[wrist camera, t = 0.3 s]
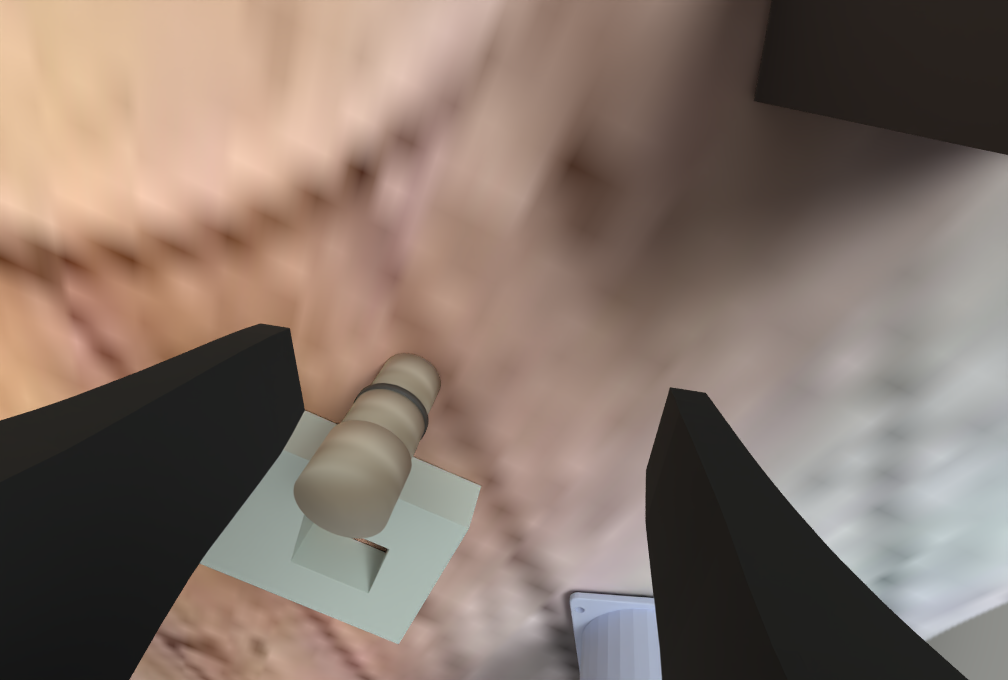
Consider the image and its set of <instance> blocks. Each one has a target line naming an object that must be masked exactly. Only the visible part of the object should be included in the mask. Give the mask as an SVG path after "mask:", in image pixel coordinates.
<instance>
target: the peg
mask: <svg viewBox="0 0 1008 680" xmlns="http://www.w3.org/2000/svg"><path fill="white" fill-rule="evenodd" d="M440 386H441V380H440V376H439V374H438V372H437V370H436V369H435V367H434V366H433V365H432V364H431V363H430V362H429V361H427V360H426V359H424V358H422V357H420V356H418V355H415V354H409V353H401V354H397V355H394V356H392V357H391V358H389V359H388V360H387V361H386V363H385V364H384V366H383V368H382V369H381V371H380V372H379V374H378V375H377V377H376V378H375V380H374V381H373V383H372V384H371V385H369V386H367V387H365V388H364V389H363V390H362V391H361V392H360V393H359V394H358V396H357V397H356V399H355V401H354V403H353V406H352V407H351V409H350V410H349V412H348V413H347V415H346V416H345V418H344V419H343V421H342V422H341V423H340V424H338V425H336V426H335V427H333V428H332V430H331V431H330V432H329V434H328V435H327V436H326V438H325V439H324V441H323V442H322V444H321V445H320V447H319V448H318V450H317V451H316V453H315V454H314V455H313V457H312V458H311V460H310V461H309V463H308V464H307V466H306V467H305V469H304V470H303V472H302V473H301V474H300V476H299V477H298V479H297V480H296V482H295V485H294V490H293V492H294V498H295V501H296V503H297V505H298V507H299V508H300V510H301V511H302V512H303V513H304V514H305V516H306V517H307V518H309V519H310V520H311V521H312V522H313V523H315V524H316V525H318V526H319V527H321V528H323V529H325V530H326V531H329V532H331V533H333V534H336V535H339V536H343V537H348V538H368V537H372V536H375V535H377V534H379V533H380V532H381V531H382V530H383V529H384V528H385V526H386V525H387V522H388V520H389V518H390V516H391V514H392V511H393V509H394V507H395V505H396V502H397V500H398V498H399V496H400V494H401V491H402V489H403V487H404V485H405V482H406V480H407V478H408V476H409V474H410V471H411V467H412V461H411V459H412V457H413V455H414V453H415V451H416V448H417V446H418V444H419V442H420V440H421V439H422V437H423V436H424V434H425V432H426V430H427V427H428V413H429V411H430V409H431V407H432V405H433V403H434V401H435V399H436V396H437V394H438V392H439V390H440Z"/></svg>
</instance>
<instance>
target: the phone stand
mask: <svg viewBox="0 0 1008 680" xmlns="http://www.w3.org/2000/svg"><path fill="white" fill-rule="evenodd" d="M754 101H757V102H762V103H767V104H771V105H776V106H781V107H786V108H790V109H795V110H800V111H804V112H809V113H814V114H818V115H823V116H828V117H832V118H837V119H842V120H847V121H851V122H856V123H861V124H865V125H870V126H875V127H879V128H884V129H889V130H893V131H898V132H903V133H908V134H912V135H917V136H922V137H926V138H931V139H936V140H940V141H945V142H950V143H954V144H959V145H964V146H969V147H973V148H978V149H983V150H987V151H992V152H997V153H1001V154H1006V155H1008V0H772V3H771V8H770V14H769V20H768V25H767V31H766V36H765V42H764V48H763V53H762V59H761V64H760V70H759V76H758V81H757V87H756V92H755V98H754Z"/></svg>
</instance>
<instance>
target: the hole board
mask: <svg viewBox="0 0 1008 680" xmlns="http://www.w3.org/2000/svg"><path fill="white" fill-rule="evenodd" d="M336 425H338V424H336V423H333V422H331V421H329V420H326V419H324V418H322V417H319V416H317V415H315V414H312V413H310V412H308V411H304V413H303V415H302V417H301V419H300V421H299V422H298V424H297V426H296V428H295V430H294V432H293V434H292V436H291V437H290V439H289V441H288V442H287V444H286V446H285V448H284V449H283V451H282V453H281V454H280V456H279V457H278V459H277V460H276V461H275V463H274V464H273V465H272V467H271V468H270V470H269V471H268V472H267V474H266V475H265V476H264V478H263V479H262V480H261V482H260V483H259V484H258V486H257V487H256V488H255V490H254V491H253V492H252V494H251V495H250V496H249V498H248V499H247V500H246V502H245V503H244V504H243V506H242V507H241V508H240V509H239V511H238V512H237V513H236V515H235V516H234V517H233V519H232V520H231V521H230V523H229V524H228V525H227V527H226V528H225V529H224V531H223V532H222V533H221V535H220V536H219V537H218V539H217V540H216V541H215V543H214V544H213V545H212V546H211V548H210V549H209V550H208V552H207V553H206V555H205V556H204V558H203V559H202V560H201V562H200V564H202V565H205V566H207V567H210V568H212V569H215V570H217V571H220V572H222V573H224V574H227V575H229V576H232V577H234V578H237V579H239V580H242V581H244V582H247V583H249V584H252V585H254V586H256V587H259V588H261V589H264V590H266V591H269V592H271V593H274V594H276V595H279V596H281V597H284V598H286V599H288V600H291V601H293V602H296V603H298V604H301V605H303V606H306V607H308V608H311V609H313V610H316V611H318V612H320V613H323V614H325V615H328V616H330V617H333V618H335V619H338V620H340V621H343V622H345V623H348V624H350V625H352V626H355V627H357V628H360V629H362V630H365V631H367V632H370V633H372V634H375V635H377V636H380V637H382V638H384V639H387V640H389V641H392V642H394V643H397V644H399V643H400V641H401V639H402V638H403V636H404V634H405V633H406V631H407V630H408V628H409V626H410V625H411V623H412V621H413V620H414V618H415V616H416V615H417V613H418V611H419V610H420V608H421V607H422V605H423V603H424V602H425V600H426V598H427V597H428V595H429V593H430V592H431V590H432V588H433V587H434V585H435V583H436V582H437V580H438V579H439V577H440V575H441V574H442V572H443V570H444V569H445V567H446V565H447V564H448V562H449V560H450V559H451V557H452V555H453V554H454V552H455V551H456V549H457V547H458V546H459V544H460V542H461V541H462V539H463V537H464V536H465V534H466V532H467V531H468V529H469V526H470V523H471V520H472V516H473V513H474V509H475V506H476V502H477V499H478V495H479V492H480V488H481V486H480V485H478V484H475V483H473V482H471V481H468V480H466V479H464V478H461V477H459V476H457V475H454V474H452V473H450V472H447V471H445V470H443V469H440V468H438V467H436V466H433V465H431V464H429V463H426V462H424V461H422V460H419V459H417V458H415V457H412V459H411V461H412V467H411V471H410V474H409V476H408V478H407V480H406V482H405V485H404V487H403V489H402V491H401V494H400V496H399V498H398V500H397V502H396V505H395V507H394V509H393V511H392V514H391V516H390V518H389V520H388V522H387V525H386V526H385V528H384V529H383V530H382V531H381V532H380V533H379V534H377V535H375V536H372V537H368V538H364V539H366V540H368V541H371V542H373V543H376V544H378V545H380V546H383V547H385V548H387V551H386V553H385V552H383V551H381V550H378V549H376V548H373V547H371V546H369V545H366V544H364V543H361V542H359V541H357V540H354V539H352V538H348V537H343V536H339V535H336V534H333V533H331V532H329V531H326V530H325V529H323V528H321V527H319V526H318V525H316V524H315V523H313V522H312V521H311V520H310V519H309V518H307V517H306V516H305V514H304V513H303V512H302V511H301V510H300V508H299V507H298V505H297V503H296V501H295V498H294V492H293V490H294V485H295V482H296V480H297V479H298V477H299V476H300V474H301V473H302V472H303V470H304V469H305V467H306V466H307V464H308V463H309V461H310V460H311V458H312V457H313V455H314V454H315V453H316V451H317V450H318V448H319V447H320V445H321V444H322V442H323V441H324V439H325V438H326V436H327V435H328V434H329V432H330V431H331V430H332V428H333V427H335V426H336Z"/></svg>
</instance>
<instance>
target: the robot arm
mask: <svg viewBox="0 0 1008 680" xmlns="http://www.w3.org/2000/svg"><path fill="white" fill-rule="evenodd" d="M304 411H305V408H304V403H303V398H302V392H301V387H300V381H299V376H298V370H297V365H296V360H295V354H294V349H293V343H292V338H291V333H290V328H285V327H279V326H273V325H266V324H258V325H255V326H251V327H248V328H245V329H243V330H240V331H237V332H235V333H232V334H229V335H227V336H224V337H222V338H219V339H217V340H214V341H212V342H209V343H207V344H205V345H202V346H200V347H197V348H195V349H193V350H190V351H188V352H185V353H183V354H181V355H178V356H176V357H173V358H171V359H168V360H166V361H164V362H161V363H159V364H156V365H154V366H152V367H149V368H147V369H144V370H142V371H139V372H137V373H134V374H131V375H129V376H126V377H124V378H121V379H118V380H116V381H113V382H111V383H108V384H105V385H103V386H100V387H97V388H95V389H92V390H90V391H87V392H84V393H82V394H79V395H77V396H74V397H71V398H68V399H65V400H62V401H60V402H57V403H54V404H51V405H48V406H45V407H42V408H39V409H36V410H33V411H30V412H27V413H23V414H20V415H17V416H14V417H11V418H7V419H4V420H1V421H0V680H129V679H130V678H131V676H132V674H133V672H134V671H135V669H136V667H137V665H138V664H139V662H140V660H141V658H142V657H143V655H144V653H145V651H146V650H147V648H148V646H149V645H150V643H151V641H152V639H153V638H154V636H155V634H156V632H157V631H158V629H159V627H160V625H161V624H162V622H163V621H164V619H165V617H166V616H167V614H168V612H169V611H170V609H171V607H172V606H173V604H174V603H175V601H176V599H177V598H178V596H179V594H180V593H181V591H182V590H183V588H184V586H185V585H186V583H187V581H188V580H189V578H190V577H191V575H192V573H193V572H194V571H195V569H196V568H197V566H198V565H199V563H200V562H201V560H202V559H203V558H204V556H205V555H206V553H207V552H208V550H209V549H210V548H211V546H212V545H213V544H214V543H215V541H216V540H217V539H218V537H219V536H220V535H221V533H222V532H223V531H224V529H225V528H226V527H227V525H228V524H229V523H230V521H231V520H232V519H233V517H234V516H235V515H236V513H237V512H238V511H239V509H240V508H241V507H242V506H243V504H244V503H245V502H246V500H247V499H248V498H249V496H250V495H251V494H252V492H253V491H254V490H255V488H256V487H257V486H258V484H259V483H260V482H261V480H262V479H263V478H264V476H265V475H266V474H267V472H268V471H269V470H270V468H271V467H272V465H273V464H274V463H275V461H276V460H277V459H278V457H279V456H280V454H281V453H282V451H283V449H284V448H285V446H286V444H287V442H288V441H289V439H290V437H291V436H292V434H293V432H294V430H295V428H296V426H297V424H298V422H299V421H300V419H301V417H302V415H303V413H304ZM646 531H647V541H648V550H649V559H650V568H651V577H652V586H653V594H654V598H646V597H633V596H620V595H607V594H594V593H581V592H575V593H573V594H571V595H570V609H571V616H572V623H573V629H574V636H575V643H576V650H577V657H578V664H579V671H580V680H968V679H967V678H965V676H963V675H962V674H961V673H960V672H959V671H958V670H957V669H956V668H954V667H953V666H952V665H951V664H950V663H949V662H948V661H946V660H945V659H944V658H943V657H942V656H941V655H940V654H939V653H938V652H937V651H935V650H934V649H933V648H932V647H931V646H930V645H929V644H928V643H926V642H925V641H924V640H923V639H922V638H921V637H920V636H919V635H917V634H916V633H915V632H914V631H913V630H912V629H911V628H910V627H909V626H908V625H907V624H906V623H904V622H903V621H902V620H901V619H900V618H899V617H898V616H897V615H896V614H895V613H894V612H893V611H892V610H891V609H889V608H888V607H887V606H886V605H885V604H884V603H883V602H882V601H881V600H880V599H879V598H878V597H877V596H876V595H875V594H874V593H873V592H872V591H871V590H870V589H869V588H868V587H867V586H866V585H865V584H864V583H863V582H862V581H861V580H860V579H859V578H858V577H857V576H856V575H855V574H854V573H853V572H852V571H851V570H850V569H849V568H848V567H847V566H846V565H845V564H844V563H843V562H842V561H841V560H840V559H839V558H838V556H837V555H836V554H835V553H834V552H833V551H832V550H831V549H830V548H829V547H828V546H827V545H826V544H825V543H824V542H823V540H822V539H821V538H820V537H819V536H818V535H817V534H816V533H815V531H814V530H813V529H812V528H811V527H810V526H809V525H808V523H807V522H806V521H805V520H804V519H803V518H802V517H801V515H800V514H799V513H798V512H797V511H796V510H795V509H794V508H793V506H792V505H791V504H790V503H789V502H788V500H787V499H786V498H785V497H784V496H783V494H782V493H781V492H780V491H779V490H778V488H777V487H776V486H775V485H774V483H773V482H772V481H771V480H770V478H769V477H768V476H767V475H766V473H765V472H764V471H763V470H762V468H761V467H760V466H759V464H758V463H757V462H756V461H755V459H754V458H753V457H752V455H751V454H750V453H749V451H748V450H747V449H746V447H745V446H744V445H743V443H742V442H741V441H740V439H739V438H738V436H737V435H736V434H735V432H734V431H733V430H732V428H731V427H730V425H729V424H728V423H727V421H726V420H725V419H724V417H723V416H722V414H721V413H720V412H719V410H718V409H717V408H716V406H715V405H714V403H713V402H712V401H711V399H710V398H709V397H708V395H707V394H706V393H703V392H697V391H690V390H684V389H677V388H671V387H670V389H669V393H668V396H667V400H666V403H665V407H664V410H663V414H662V417H661V421H660V424H659V427H658V431H657V434H656V438H655V441H654V445H653V448H652V452H651V455H650V459H649V462H648V465H647V469H646Z"/></svg>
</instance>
